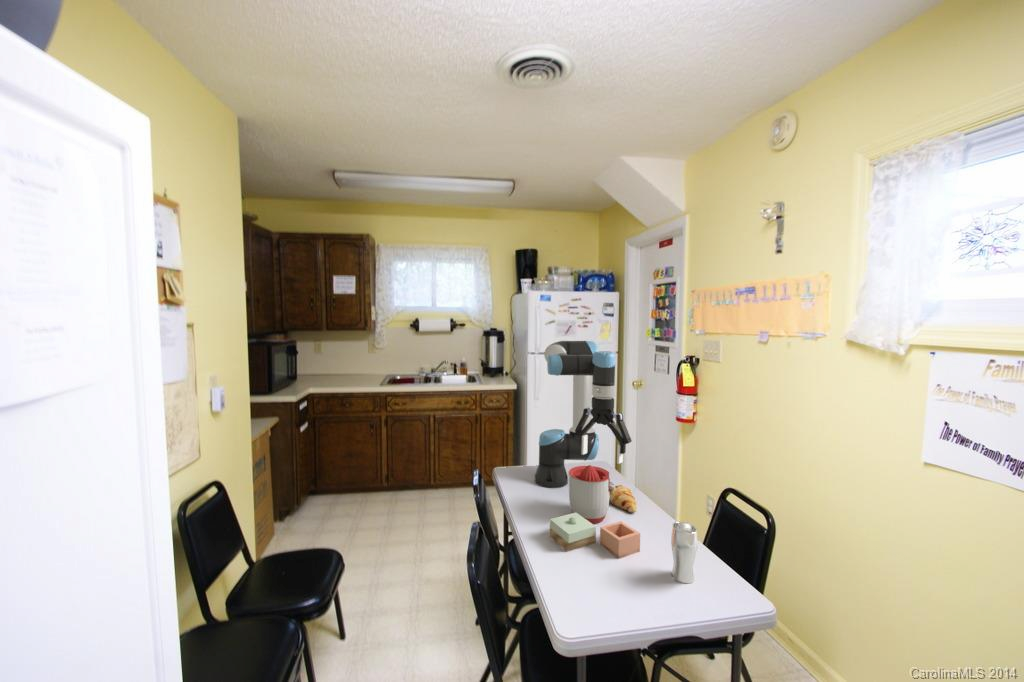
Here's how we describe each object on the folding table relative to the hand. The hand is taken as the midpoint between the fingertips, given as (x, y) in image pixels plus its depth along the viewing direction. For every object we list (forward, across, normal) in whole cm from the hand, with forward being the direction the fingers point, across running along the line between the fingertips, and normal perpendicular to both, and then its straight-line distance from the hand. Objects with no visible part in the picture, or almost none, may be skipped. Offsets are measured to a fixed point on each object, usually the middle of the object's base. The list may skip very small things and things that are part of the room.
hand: (601, 458), depth 142 cm
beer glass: (+27, +30, -5) cm, 41 cm away
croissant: (+28, -6, +28) cm, 39 cm away
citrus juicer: (+27, -9, +9) cm, 30 cm away
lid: (+24, -5, -9) cm, 26 cm away
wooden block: (+27, -5, -9) cm, 29 cm away
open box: (+27, +9, -3) cm, 29 cm away
